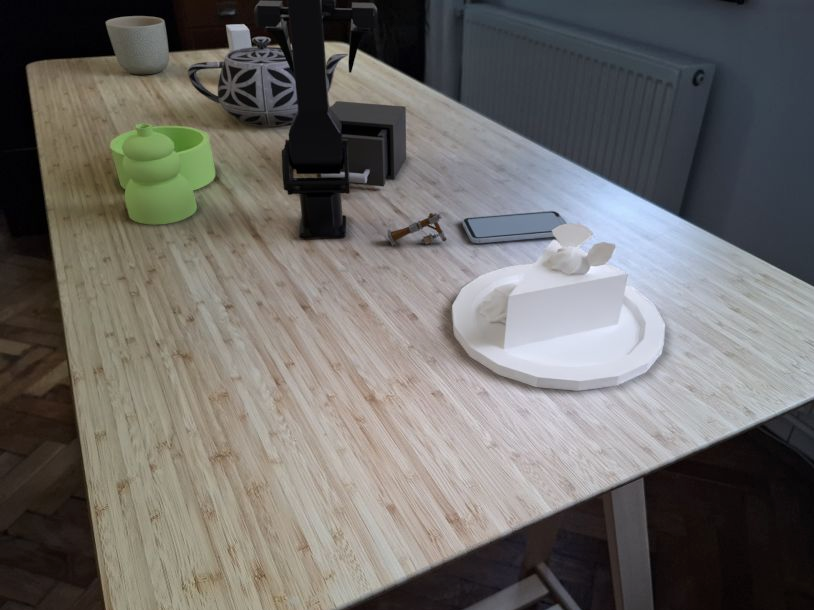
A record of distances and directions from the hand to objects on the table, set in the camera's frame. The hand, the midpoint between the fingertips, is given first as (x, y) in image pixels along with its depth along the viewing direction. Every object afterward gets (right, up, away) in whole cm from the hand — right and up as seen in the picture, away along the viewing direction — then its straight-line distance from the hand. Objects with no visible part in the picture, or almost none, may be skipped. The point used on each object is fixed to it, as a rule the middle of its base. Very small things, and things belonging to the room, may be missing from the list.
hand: (321, 71), depth 113 cm
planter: (-52, +20, +50) cm, 75 cm away
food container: (-23, -21, -5) cm, 32 cm away
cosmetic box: (-27, +16, +45) cm, 55 cm away
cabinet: (+6, -14, +7) cm, 16 cm away
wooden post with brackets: (+17, -31, -16) cm, 38 cm away
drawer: (+5, -17, 0) cm, 18 cm away
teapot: (-15, +1, +26) cm, 30 cm away
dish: (+34, -43, -32) cm, 64 cm away
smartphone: (+31, -28, -12) cm, 44 cm away
